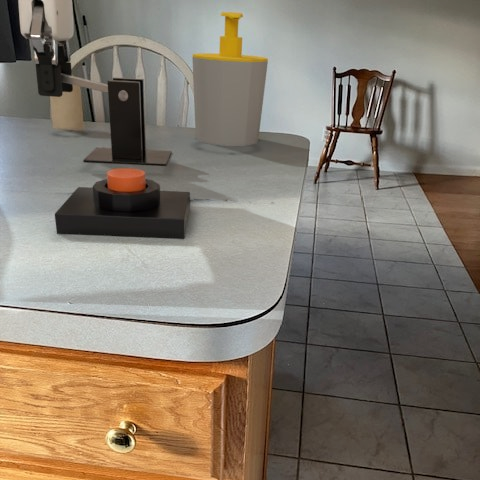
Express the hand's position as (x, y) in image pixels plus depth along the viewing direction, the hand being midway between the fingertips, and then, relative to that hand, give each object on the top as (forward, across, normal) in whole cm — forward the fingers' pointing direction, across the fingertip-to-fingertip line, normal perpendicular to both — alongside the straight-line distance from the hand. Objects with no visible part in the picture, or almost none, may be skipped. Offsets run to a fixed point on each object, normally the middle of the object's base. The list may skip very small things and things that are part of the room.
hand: (56, 92), depth 78 cm
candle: (+10, -23, -5) cm, 26 cm away
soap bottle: (+9, -18, +25) cm, 32 cm away
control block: (+10, +27, +14) cm, 32 cm away
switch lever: (0, 0, +5) cm, 5 cm away
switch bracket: (+9, 0, +10) cm, 14 cm away
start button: (+6, +27, +14) cm, 31 cm away
